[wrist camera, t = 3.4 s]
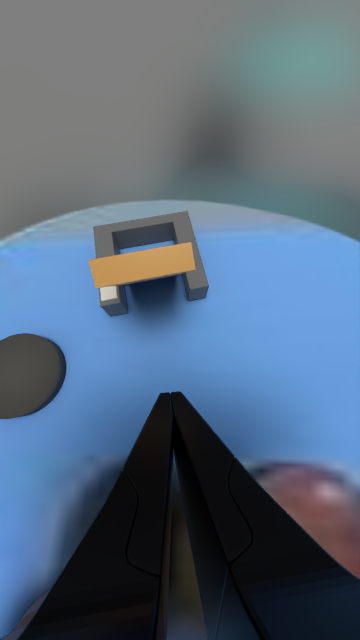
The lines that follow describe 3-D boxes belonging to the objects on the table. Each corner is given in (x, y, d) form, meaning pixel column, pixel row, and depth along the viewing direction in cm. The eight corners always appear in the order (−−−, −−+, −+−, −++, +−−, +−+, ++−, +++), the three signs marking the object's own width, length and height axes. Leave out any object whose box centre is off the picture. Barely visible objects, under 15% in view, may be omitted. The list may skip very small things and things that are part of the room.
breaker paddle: (178, 275, 23) (195, 270, 12) (127, 285, 23) (96, 288, 12) (176, 260, 23) (190, 241, 12) (123, 269, 22) (88, 259, 11)
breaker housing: (205, 297, 23) (208, 284, 20) (110, 316, 23) (99, 305, 20) (186, 229, 27) (187, 209, 23) (103, 244, 26) (92, 225, 23)
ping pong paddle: (-6, 458, 18) (-23, 464, 17) (-50, 397, 20) (-69, 398, 19) (81, 370, 21) (73, 369, 19) (36, 322, 23) (25, 318, 21)
